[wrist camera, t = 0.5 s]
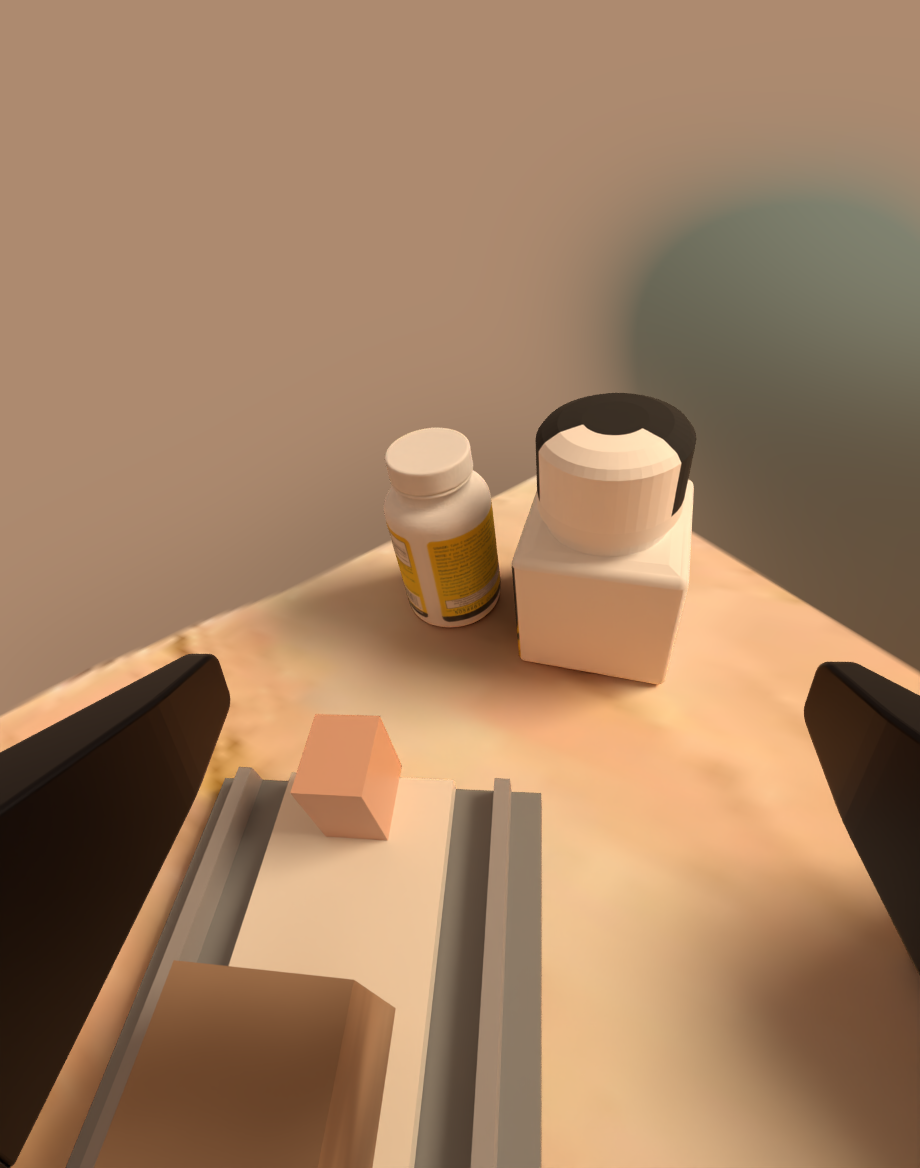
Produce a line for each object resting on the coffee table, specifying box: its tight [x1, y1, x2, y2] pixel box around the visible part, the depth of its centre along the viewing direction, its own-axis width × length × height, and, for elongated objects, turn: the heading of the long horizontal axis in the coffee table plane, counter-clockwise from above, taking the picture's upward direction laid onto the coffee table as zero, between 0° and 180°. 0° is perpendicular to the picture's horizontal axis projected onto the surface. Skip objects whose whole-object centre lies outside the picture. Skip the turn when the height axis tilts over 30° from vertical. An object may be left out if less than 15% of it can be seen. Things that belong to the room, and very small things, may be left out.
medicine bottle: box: [512, 393, 696, 684], centre depth 25 cm, size 7×7×12 cm
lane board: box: [66, 767, 542, 1168], centre depth 17 cm, size 18×14×2 cm
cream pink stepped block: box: [229, 714, 456, 1168], centre depth 17 cm, size 14×7×5 cm, turn 174°
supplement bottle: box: [384, 428, 500, 627], centre depth 29 cm, size 5×5×10 cm
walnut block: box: [94, 960, 396, 1168], centre depth 14 cm, size 5×5×5 cm
